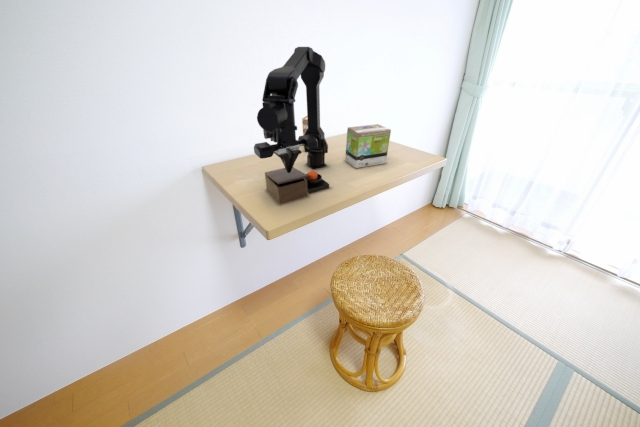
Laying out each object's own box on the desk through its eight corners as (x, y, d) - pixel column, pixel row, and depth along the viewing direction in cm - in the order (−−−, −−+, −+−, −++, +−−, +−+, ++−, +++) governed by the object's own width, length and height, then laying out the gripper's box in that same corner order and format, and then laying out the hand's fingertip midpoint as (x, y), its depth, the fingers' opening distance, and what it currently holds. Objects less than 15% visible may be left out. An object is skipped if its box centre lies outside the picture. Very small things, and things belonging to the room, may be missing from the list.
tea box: (356, 169, 106) (359, 133, 98) (344, 161, 114) (346, 126, 106) (386, 163, 111) (391, 128, 103) (373, 156, 119) (377, 122, 111)
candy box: (311, 152, 124) (310, 118, 115) (303, 151, 125) (301, 118, 117) (317, 146, 131) (316, 114, 123) (309, 145, 132) (308, 114, 124)
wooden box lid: (307, 176, 83) (307, 175, 83) (278, 184, 79) (278, 182, 78) (291, 167, 93) (291, 166, 92) (264, 174, 88) (264, 172, 88)
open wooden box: (307, 196, 87) (307, 180, 84) (279, 204, 83) (278, 187, 80) (292, 183, 96) (291, 168, 93) (266, 190, 92) (264, 174, 88)
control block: (296, 182, 96) (296, 174, 94) (315, 178, 100) (315, 169, 98) (309, 193, 89) (309, 184, 87) (329, 188, 92) (329, 179, 91)
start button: (305, 177, 93) (305, 172, 92) (314, 174, 95) (314, 170, 94) (310, 180, 91) (310, 176, 90) (319, 178, 92) (319, 173, 91)
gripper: (301, 112, 84) (303, 158, 92) (244, 120, 76) (252, 169, 84) (318, 119, 76) (318, 169, 84) (256, 128, 68) (264, 182, 76)
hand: (288, 172), depth 83 cm, fingers closed
